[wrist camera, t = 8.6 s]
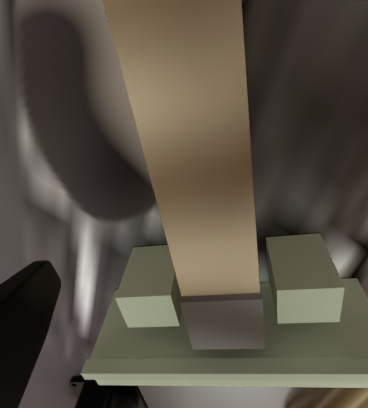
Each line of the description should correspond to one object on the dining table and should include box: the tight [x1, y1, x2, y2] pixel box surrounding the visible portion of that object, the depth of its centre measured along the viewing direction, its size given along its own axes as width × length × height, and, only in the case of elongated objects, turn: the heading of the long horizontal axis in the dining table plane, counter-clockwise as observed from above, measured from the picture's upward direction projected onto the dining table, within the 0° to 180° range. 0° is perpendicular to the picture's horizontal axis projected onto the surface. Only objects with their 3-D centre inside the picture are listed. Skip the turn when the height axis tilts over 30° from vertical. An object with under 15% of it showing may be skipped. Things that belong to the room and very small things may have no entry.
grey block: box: [81, 233, 368, 388], centre depth 17 cm, size 6×16×6 cm, turn 100°
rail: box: [103, 0, 265, 350], centre depth 12 cm, size 18×4×5 cm, turn 10°
